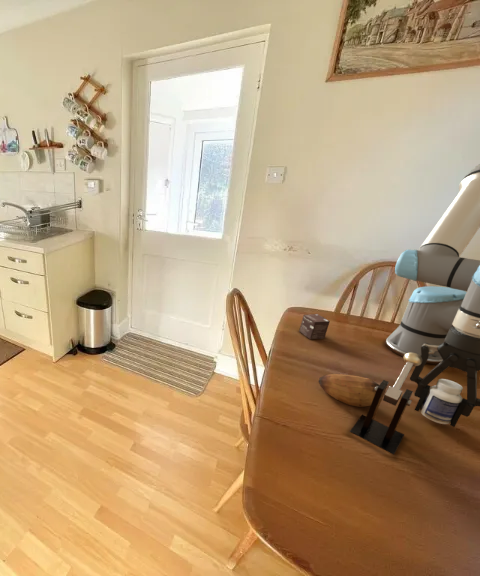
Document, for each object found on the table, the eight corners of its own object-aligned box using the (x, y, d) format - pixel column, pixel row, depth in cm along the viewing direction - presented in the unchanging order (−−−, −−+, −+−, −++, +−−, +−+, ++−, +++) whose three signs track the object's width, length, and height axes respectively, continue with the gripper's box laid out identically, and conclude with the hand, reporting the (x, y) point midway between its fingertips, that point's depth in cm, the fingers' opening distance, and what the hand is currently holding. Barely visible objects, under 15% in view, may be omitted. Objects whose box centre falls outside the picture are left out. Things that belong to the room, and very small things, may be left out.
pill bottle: (457, 426, 73) (475, 393, 70) (430, 423, 74) (446, 389, 71) (438, 410, 78) (454, 378, 75) (413, 407, 79) (428, 375, 76)
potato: (319, 405, 88) (319, 378, 92) (383, 416, 80) (380, 386, 84) (317, 394, 83) (317, 367, 87) (386, 404, 75) (382, 374, 79)
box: (298, 331, 121) (302, 314, 118) (312, 330, 121) (317, 313, 119) (310, 339, 115) (315, 321, 112) (325, 338, 116) (330, 320, 113)
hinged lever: (404, 356, 76) (407, 347, 74) (422, 362, 74) (425, 353, 72) (379, 400, 71) (381, 392, 69) (398, 408, 68) (401, 400, 67)
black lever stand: (360, 417, 79) (378, 372, 74) (402, 438, 73) (424, 390, 68) (348, 434, 74) (366, 387, 69) (392, 458, 68) (415, 408, 63)
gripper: (414, 321, 73) (381, 401, 81) (547, 357, 59) (491, 448, 67) (421, 313, 77) (389, 389, 85) (547, 344, 63) (494, 432, 71)
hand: (434, 415), depth 76 cm, fingers closed on pill bottle, 5 cm apart
